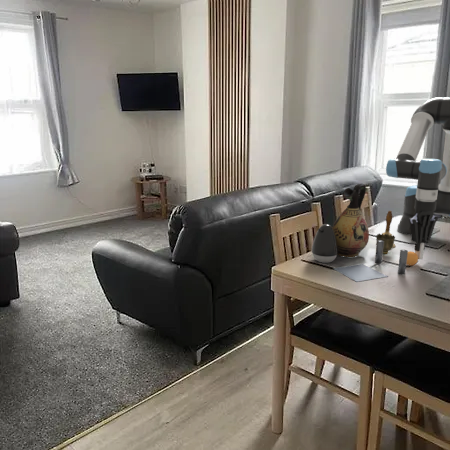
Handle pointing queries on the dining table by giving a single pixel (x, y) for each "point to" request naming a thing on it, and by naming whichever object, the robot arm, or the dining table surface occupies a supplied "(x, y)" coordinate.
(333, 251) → the grey smart speaker
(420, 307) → the dining table surface
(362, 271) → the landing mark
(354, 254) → the ceramic jug
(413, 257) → the ball
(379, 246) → the gate post
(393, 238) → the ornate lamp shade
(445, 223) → the dining table surface
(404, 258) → the gate post
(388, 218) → the hand bell
